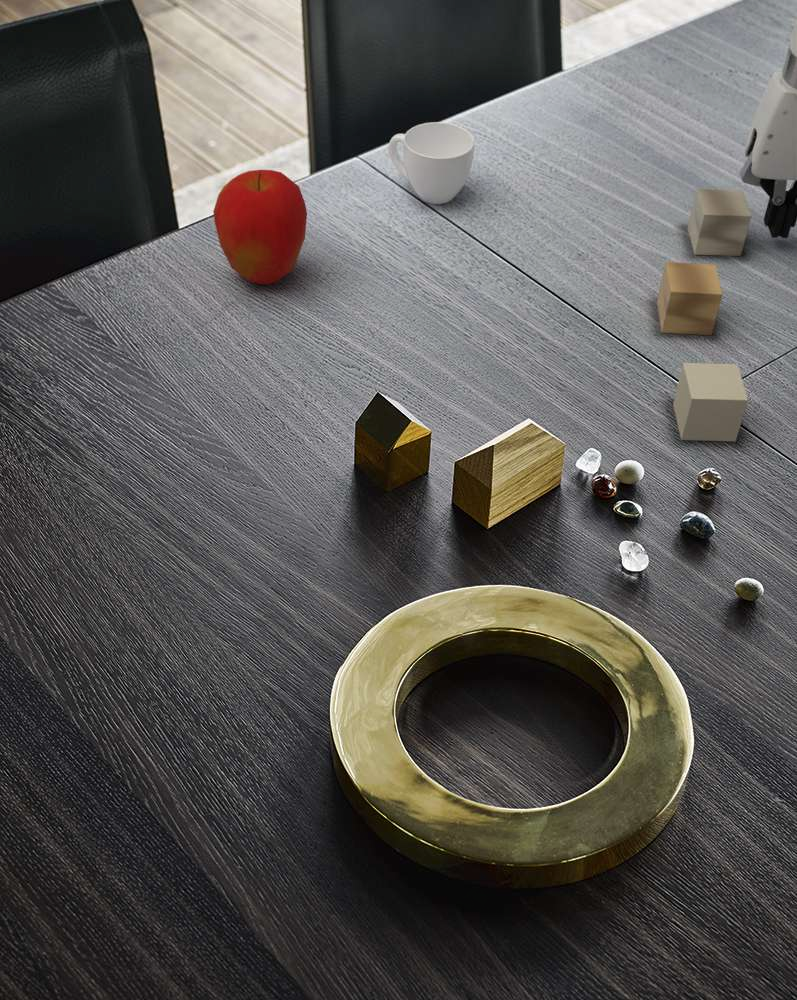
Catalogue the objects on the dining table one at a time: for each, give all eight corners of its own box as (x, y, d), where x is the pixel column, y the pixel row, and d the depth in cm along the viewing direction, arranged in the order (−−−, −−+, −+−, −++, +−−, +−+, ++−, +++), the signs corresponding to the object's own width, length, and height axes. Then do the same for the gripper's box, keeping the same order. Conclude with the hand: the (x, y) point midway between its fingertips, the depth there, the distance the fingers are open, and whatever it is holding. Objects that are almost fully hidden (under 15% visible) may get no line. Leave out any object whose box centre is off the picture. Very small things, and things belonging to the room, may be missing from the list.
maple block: (705, 305, 128) (715, 264, 124) (711, 335, 124) (722, 294, 121) (656, 302, 128) (665, 261, 124) (661, 332, 124) (670, 291, 121)
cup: (450, 220, 137) (454, 165, 132) (371, 193, 141) (372, 139, 136) (482, 188, 142) (487, 134, 137) (405, 163, 145) (407, 109, 141)
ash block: (732, 230, 138) (742, 190, 134) (740, 256, 134) (751, 216, 131) (687, 228, 138) (696, 188, 134) (694, 255, 134) (704, 214, 131)
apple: (280, 240, 133) (276, 138, 125) (325, 283, 128) (324, 179, 120) (202, 267, 130) (193, 163, 121) (246, 312, 125) (239, 207, 116)
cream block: (726, 405, 117) (738, 363, 113) (735, 442, 113) (748, 400, 110) (672, 404, 117) (683, 362, 113) (680, 440, 113) (691, 398, 110)
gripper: (889, 54, 125) (837, 214, 138) (739, 49, 124) (701, 209, 137) (910, 91, 119) (854, 253, 132) (754, 86, 119) (713, 248, 132)
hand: (776, 230), depth 135 cm, fingers closed
